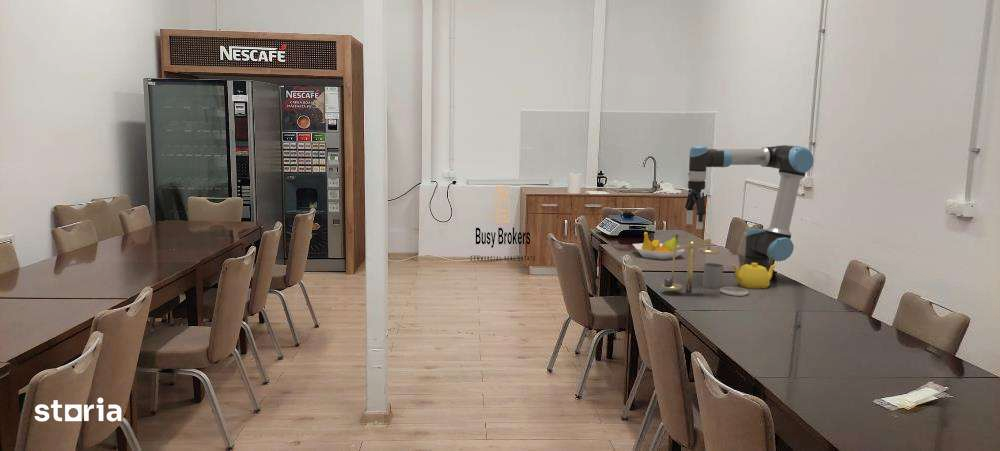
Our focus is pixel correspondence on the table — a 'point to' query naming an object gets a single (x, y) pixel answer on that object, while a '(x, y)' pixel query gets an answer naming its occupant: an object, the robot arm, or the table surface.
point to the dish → (733, 291)
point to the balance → (688, 269)
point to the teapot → (753, 276)
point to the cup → (713, 275)
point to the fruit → (658, 248)
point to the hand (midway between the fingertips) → (694, 226)
